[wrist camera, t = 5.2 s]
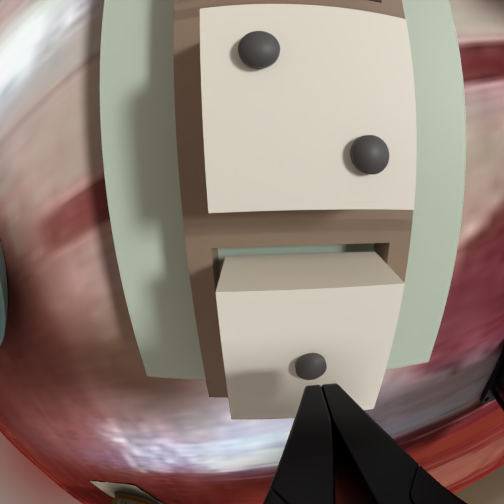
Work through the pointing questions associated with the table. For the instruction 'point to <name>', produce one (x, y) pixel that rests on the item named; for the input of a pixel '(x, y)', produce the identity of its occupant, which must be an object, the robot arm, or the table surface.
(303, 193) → the two-pip key
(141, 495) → the condiment
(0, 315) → the saucer
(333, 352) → the one-pip key
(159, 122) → the board
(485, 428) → the table surface
